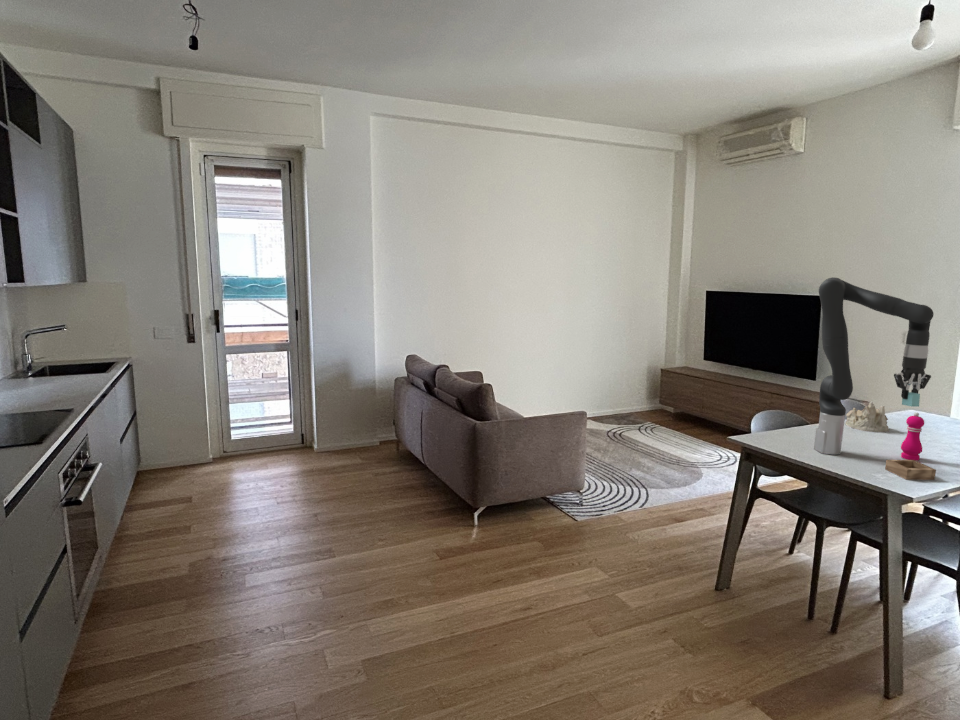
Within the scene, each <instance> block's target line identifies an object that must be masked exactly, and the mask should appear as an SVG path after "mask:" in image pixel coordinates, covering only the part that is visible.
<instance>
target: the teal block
mask: <svg viewBox="0 0 960 720" xmlns="http://www.w3.org/2000/svg"><path fill="white" fill-rule="evenodd" d="M920 401H921V394H920V393H919V392H918V393H912V392H910V391H909V393H908V399H903V398H902V397H901V405H902V406H908V407H911V408H912V407H915V408H917V407H919V408H920Z"/></svg>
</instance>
